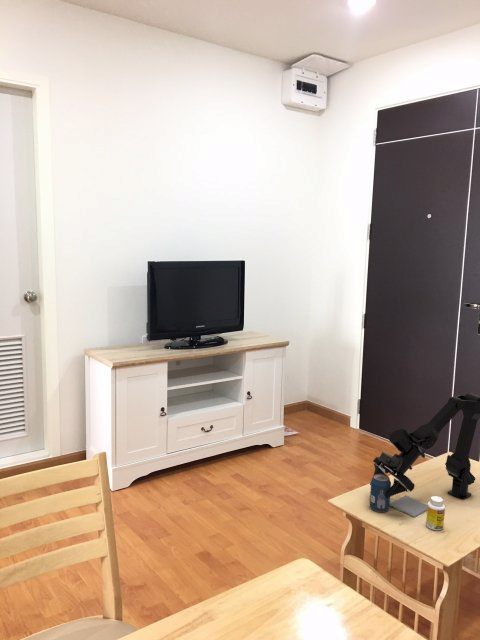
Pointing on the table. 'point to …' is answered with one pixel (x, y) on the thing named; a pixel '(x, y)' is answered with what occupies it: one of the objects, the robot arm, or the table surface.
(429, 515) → the supplement bottle
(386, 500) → the soda can
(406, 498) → the coaster
